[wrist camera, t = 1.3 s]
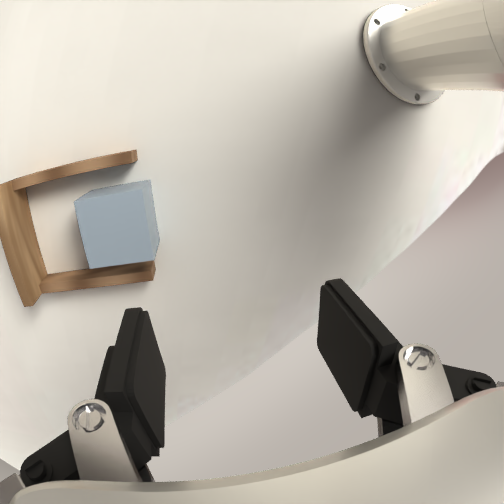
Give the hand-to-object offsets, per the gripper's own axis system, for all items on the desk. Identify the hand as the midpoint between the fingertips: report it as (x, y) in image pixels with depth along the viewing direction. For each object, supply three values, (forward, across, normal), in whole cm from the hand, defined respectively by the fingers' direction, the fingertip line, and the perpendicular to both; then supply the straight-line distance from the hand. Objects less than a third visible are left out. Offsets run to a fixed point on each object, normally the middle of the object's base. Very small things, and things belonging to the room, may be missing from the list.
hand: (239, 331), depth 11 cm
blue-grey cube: (+20, +8, 0) cm, 21 cm away
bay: (+20, +13, 0) cm, 24 cm away
